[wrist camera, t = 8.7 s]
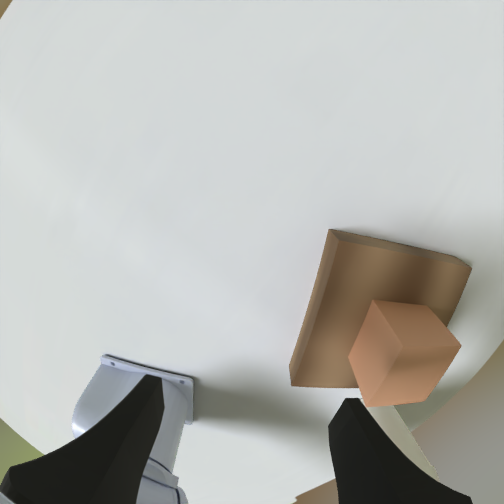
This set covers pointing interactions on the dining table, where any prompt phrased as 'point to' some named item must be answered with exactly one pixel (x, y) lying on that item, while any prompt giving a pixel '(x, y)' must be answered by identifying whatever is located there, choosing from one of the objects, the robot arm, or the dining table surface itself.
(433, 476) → the foam cup
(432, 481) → the robot arm
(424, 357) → the terracotta block
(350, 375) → the walnut plinth
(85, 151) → the dining table surface
